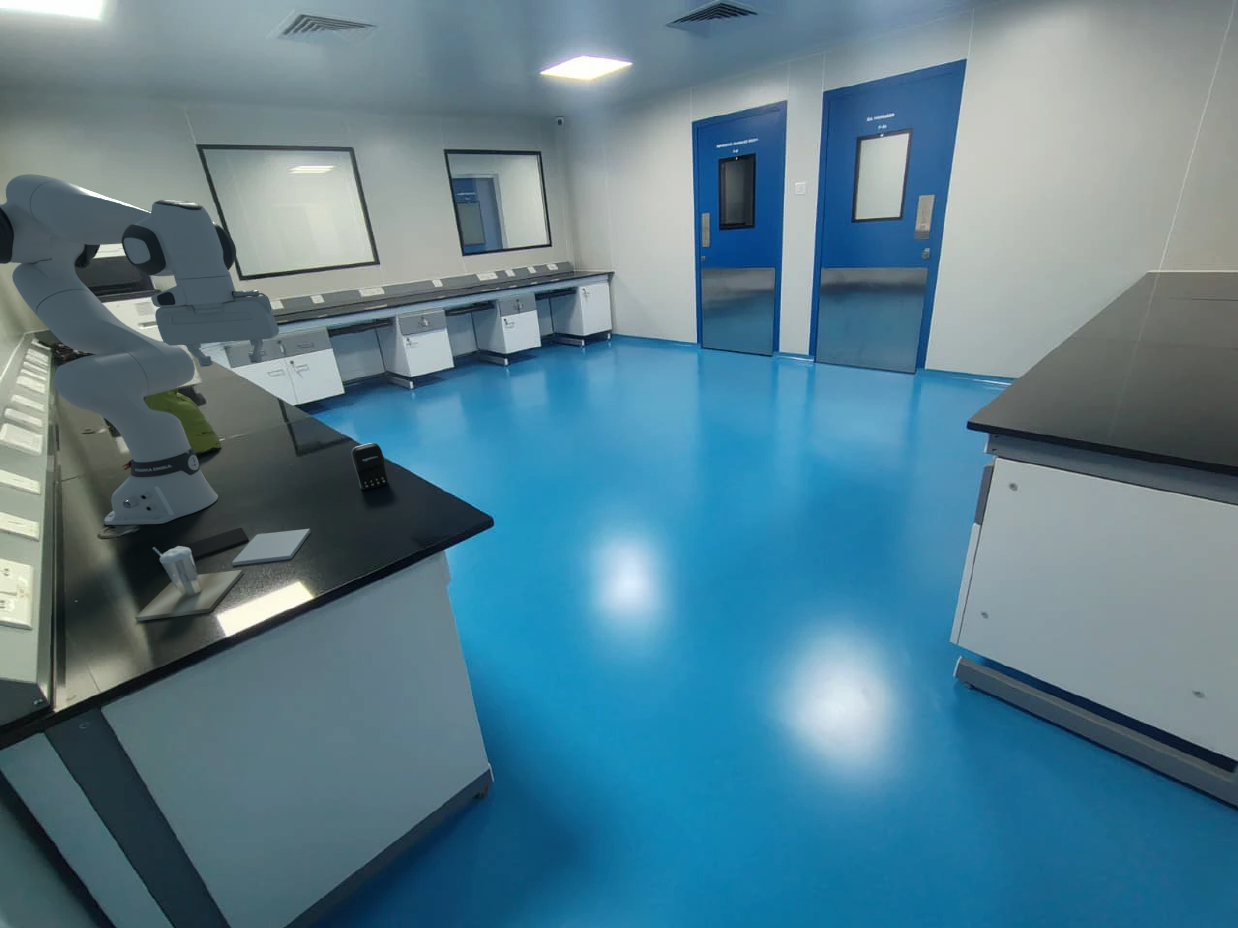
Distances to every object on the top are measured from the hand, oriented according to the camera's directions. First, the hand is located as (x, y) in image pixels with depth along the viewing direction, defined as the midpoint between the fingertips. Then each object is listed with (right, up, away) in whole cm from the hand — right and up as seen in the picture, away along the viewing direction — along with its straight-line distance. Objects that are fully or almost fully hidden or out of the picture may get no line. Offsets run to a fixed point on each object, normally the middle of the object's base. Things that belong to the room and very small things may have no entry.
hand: (232, 364), depth 110 cm
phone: (-10, -39, +6) cm, 41 cm away
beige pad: (0, -45, -10) cm, 46 cm away
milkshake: (-1, -44, -10) cm, 45 cm away
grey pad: (+5, -38, +5) cm, 39 cm away
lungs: (-59, -16, +64) cm, 88 cm away
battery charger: (+15, -26, +31) cm, 44 cm away
